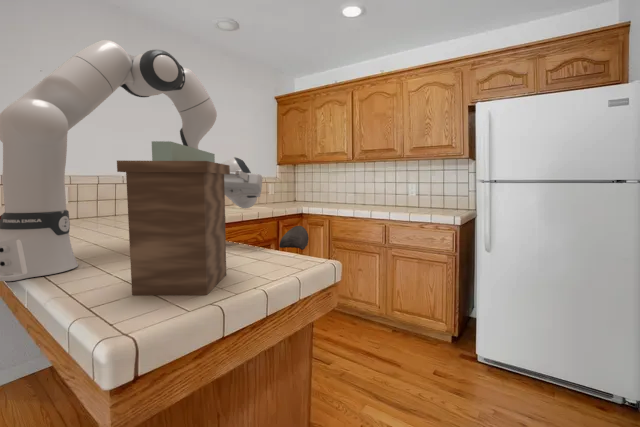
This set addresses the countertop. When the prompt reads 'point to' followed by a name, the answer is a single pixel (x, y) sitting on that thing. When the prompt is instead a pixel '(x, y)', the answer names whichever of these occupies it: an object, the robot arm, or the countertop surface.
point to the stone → (295, 238)
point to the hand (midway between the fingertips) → (222, 171)
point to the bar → (178, 152)
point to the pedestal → (176, 226)
